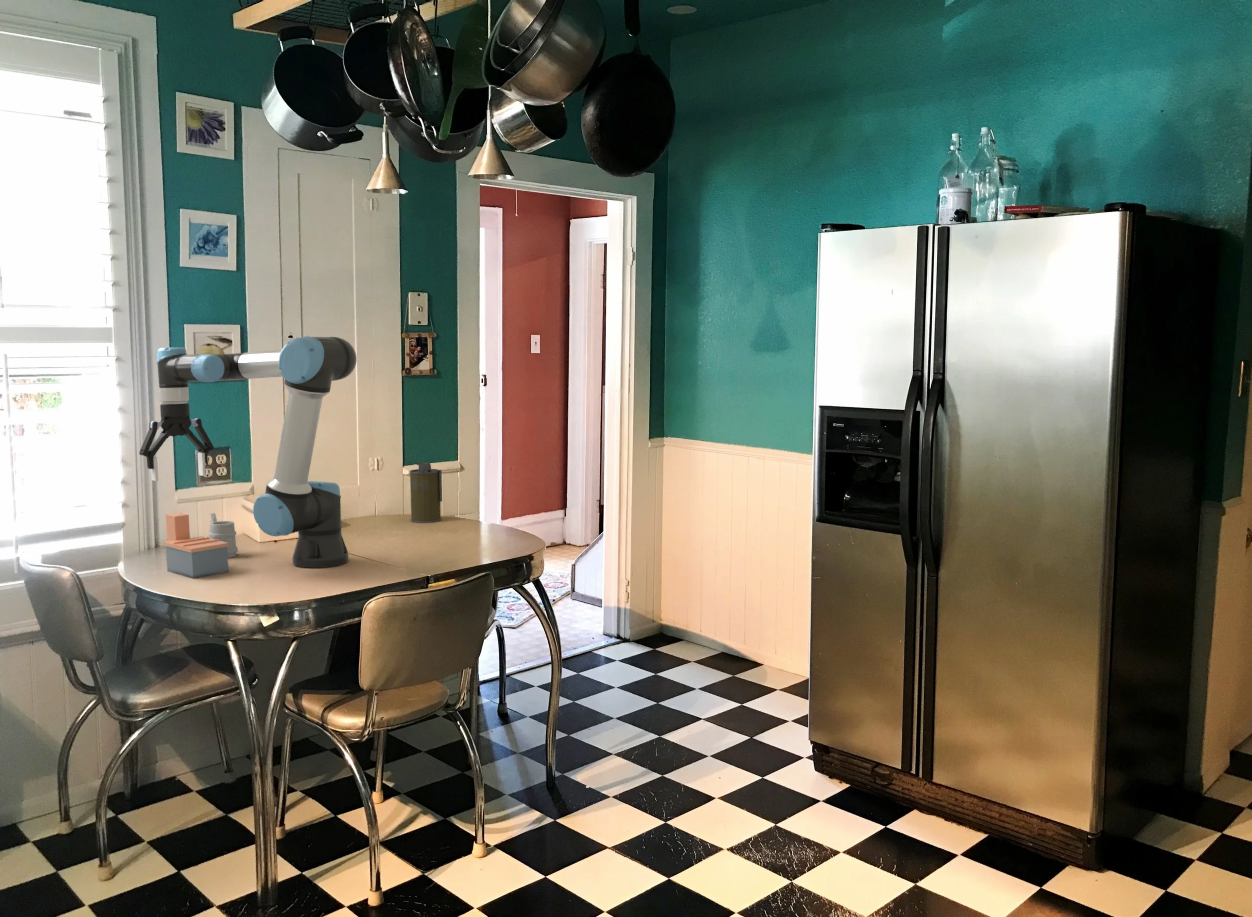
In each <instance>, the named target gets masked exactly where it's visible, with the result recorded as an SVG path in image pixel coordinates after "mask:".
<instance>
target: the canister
mask: <svg viewBox="0 0 1252 917" xmlns="http://www.w3.org/2000/svg"><path fill="white" fill-rule="evenodd" d="M416 465H417V466H418V468H417V469H411V470H409V476H410V477H409V482H410V486H409V487H410V515H411V516H410V522H412V523H417V524H422V523H423V524H427V523H428V524H429V523H436V522H440V521H442V517H441V516H442V515H441V502H443V481H442V479H443V478H442V477H443V476H442V472H443V471H442V469H437V468H432V466H431V465H432V464H431V462H418V463H416Z"/></svg>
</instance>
